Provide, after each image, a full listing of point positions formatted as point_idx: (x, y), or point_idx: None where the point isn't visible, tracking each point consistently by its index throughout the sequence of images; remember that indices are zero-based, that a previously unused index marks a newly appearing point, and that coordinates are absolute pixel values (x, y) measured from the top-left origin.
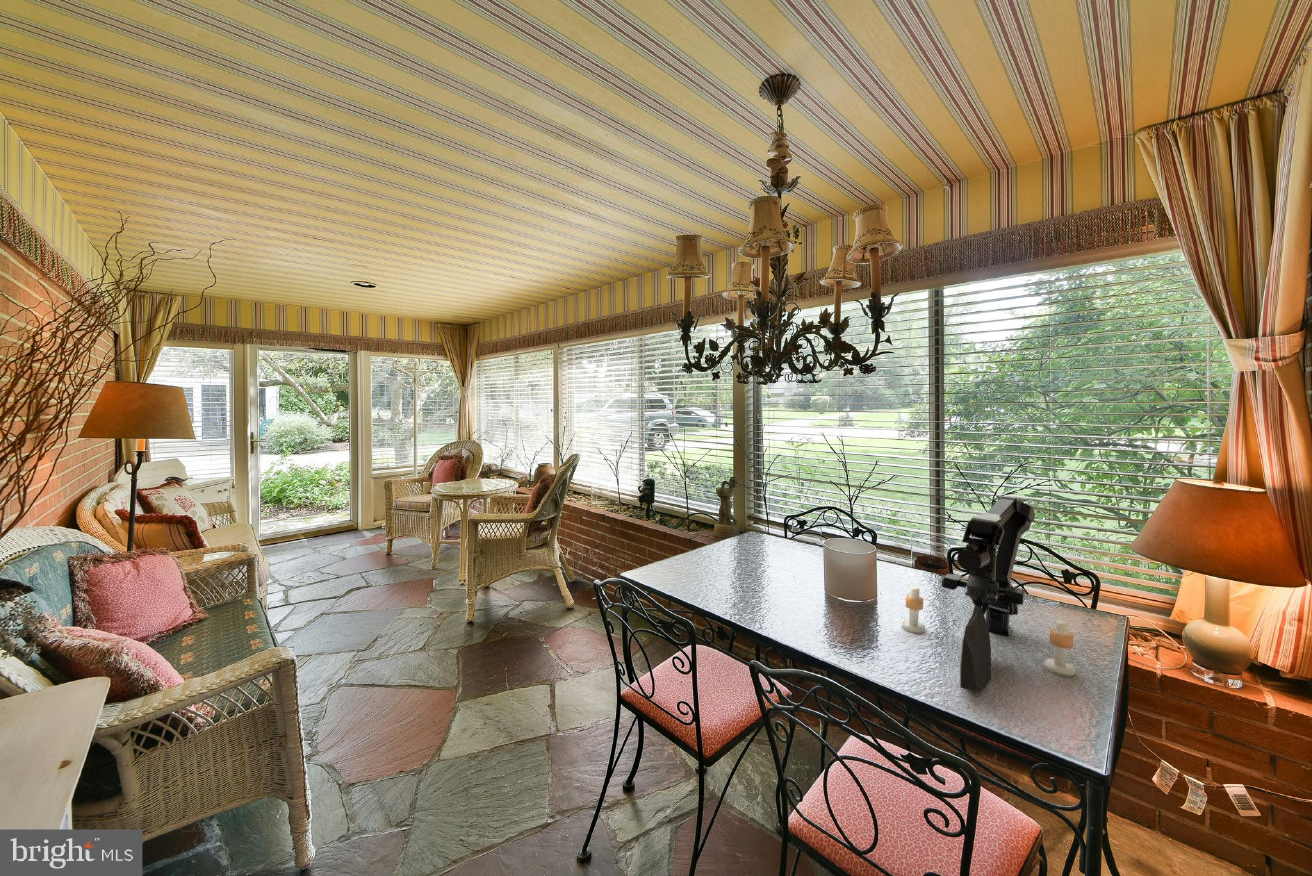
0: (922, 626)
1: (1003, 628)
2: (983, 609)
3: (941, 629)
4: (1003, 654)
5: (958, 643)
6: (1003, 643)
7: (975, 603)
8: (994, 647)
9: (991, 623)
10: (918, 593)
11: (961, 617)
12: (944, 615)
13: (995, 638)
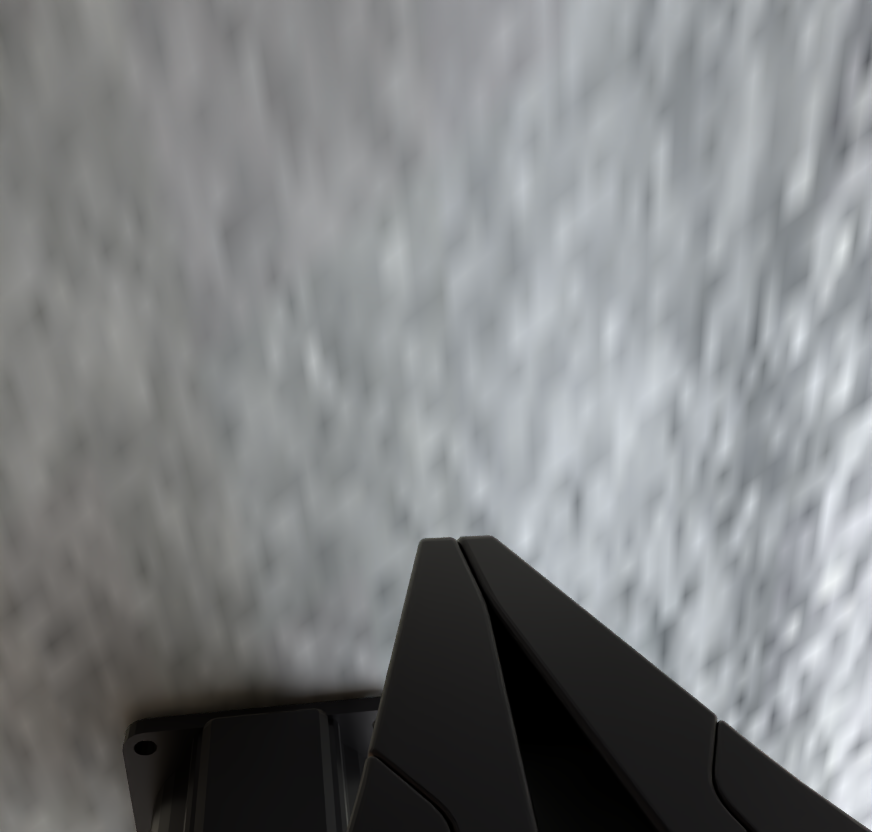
0: None
1: (186, 799)
2: (456, 723)
3: (809, 407)
4: (9, 125)
5: (635, 84)
6: (122, 511)
7: (795, 830)
8: (183, 304)
9: (311, 786)
10: None
11: None
12: None
13: (235, 583)
